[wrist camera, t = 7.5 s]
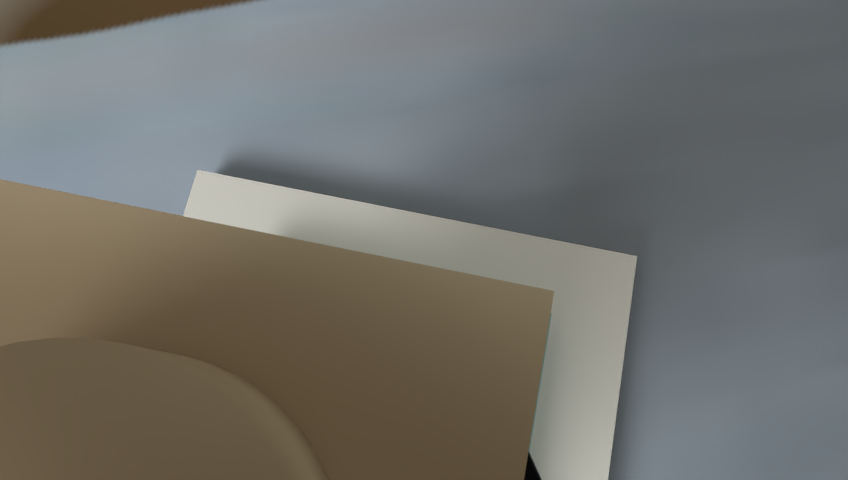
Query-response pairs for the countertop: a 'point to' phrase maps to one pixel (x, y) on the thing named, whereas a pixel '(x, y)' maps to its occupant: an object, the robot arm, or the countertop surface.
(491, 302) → the beige tall block
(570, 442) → the baseplate
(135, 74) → the countertop surface
